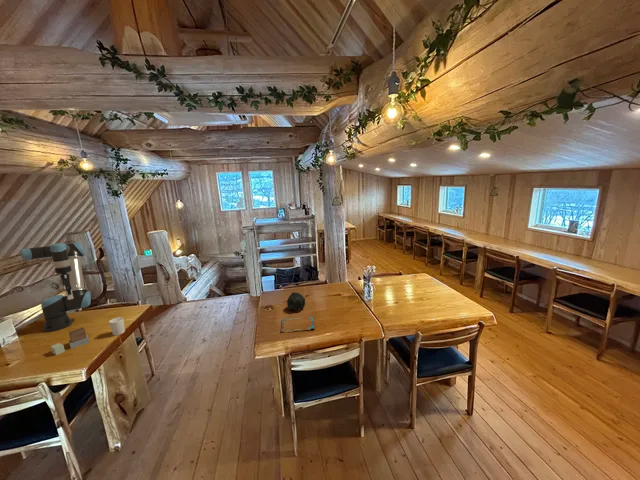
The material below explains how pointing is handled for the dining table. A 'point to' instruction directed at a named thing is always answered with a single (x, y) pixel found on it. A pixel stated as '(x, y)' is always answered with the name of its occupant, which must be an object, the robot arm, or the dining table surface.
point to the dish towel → (299, 328)
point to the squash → (296, 301)
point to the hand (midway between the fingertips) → (69, 296)
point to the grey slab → (79, 342)
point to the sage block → (57, 349)
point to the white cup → (117, 325)
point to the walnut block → (77, 334)
